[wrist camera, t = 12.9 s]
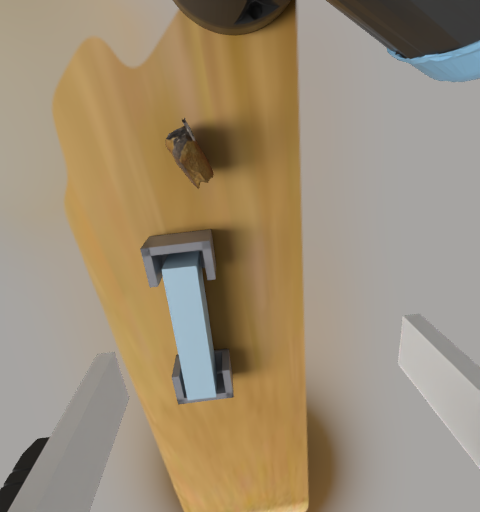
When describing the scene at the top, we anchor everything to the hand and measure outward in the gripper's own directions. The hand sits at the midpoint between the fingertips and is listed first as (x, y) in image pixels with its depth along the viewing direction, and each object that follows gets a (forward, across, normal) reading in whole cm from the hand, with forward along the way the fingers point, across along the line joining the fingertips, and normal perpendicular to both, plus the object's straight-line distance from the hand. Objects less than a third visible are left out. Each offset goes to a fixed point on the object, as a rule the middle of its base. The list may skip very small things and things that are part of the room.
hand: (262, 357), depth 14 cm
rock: (+27, -5, +9) cm, 29 cm away
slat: (+26, -8, -14) cm, 30 cm away
